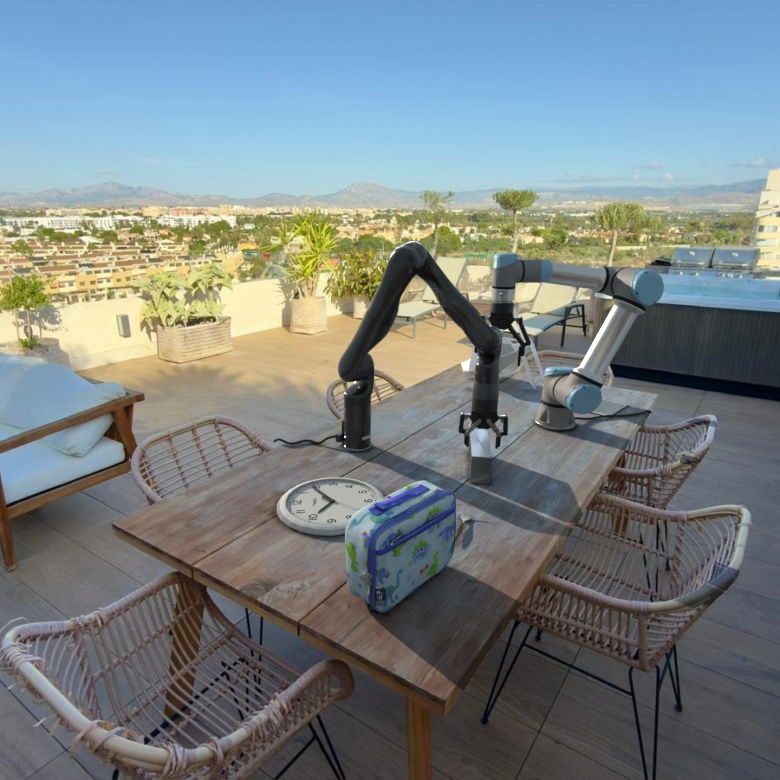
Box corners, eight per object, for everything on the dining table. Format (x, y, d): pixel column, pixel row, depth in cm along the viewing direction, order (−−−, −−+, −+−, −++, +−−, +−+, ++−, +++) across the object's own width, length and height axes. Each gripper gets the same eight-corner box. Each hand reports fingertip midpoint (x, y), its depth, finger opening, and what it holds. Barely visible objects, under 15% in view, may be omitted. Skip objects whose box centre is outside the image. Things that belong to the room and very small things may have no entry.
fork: (449, 542, 127) (449, 535, 126) (463, 510, 141) (464, 504, 140) (459, 544, 126) (460, 537, 125) (473, 512, 140) (473, 506, 139)
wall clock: (392, 527, 129) (268, 531, 127) (391, 533, 130) (269, 537, 127) (383, 473, 158) (282, 475, 155) (383, 478, 158) (282, 480, 156)
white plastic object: (482, 418, 266) (461, 395, 241) (463, 346, 288) (443, 318, 264) (553, 394, 254) (538, 368, 229) (528, 321, 276) (512, 289, 251)
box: (468, 452, 178) (469, 428, 175) (485, 453, 177) (487, 429, 174) (470, 483, 157) (471, 456, 154) (489, 484, 156) (491, 457, 153)
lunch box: (374, 626, 100) (375, 530, 93) (338, 598, 107) (337, 508, 101) (459, 568, 117) (465, 484, 111) (424, 547, 124) (427, 467, 118)
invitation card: (608, 416, 214) (573, 407, 224) (608, 416, 214) (573, 408, 224) (628, 404, 229) (594, 396, 238) (628, 405, 229) (594, 397, 238)
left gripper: (460, 398, 149) (457, 450, 153) (511, 400, 147) (507, 453, 152) (460, 390, 156) (457, 440, 160) (509, 392, 154) (505, 443, 159)
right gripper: (463, 301, 172) (460, 363, 179) (541, 304, 165) (535, 369, 172) (466, 298, 179) (464, 358, 186) (542, 301, 172) (536, 364, 179)
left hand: (481, 447), depth 156 cm, fingers open, 8 cm apart
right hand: (498, 363), depth 179 cm, fingers open, 13 cm apart
